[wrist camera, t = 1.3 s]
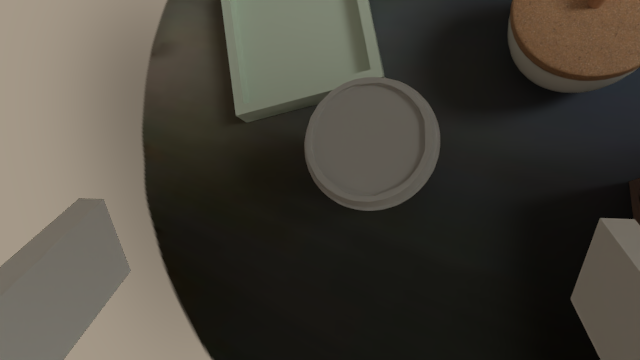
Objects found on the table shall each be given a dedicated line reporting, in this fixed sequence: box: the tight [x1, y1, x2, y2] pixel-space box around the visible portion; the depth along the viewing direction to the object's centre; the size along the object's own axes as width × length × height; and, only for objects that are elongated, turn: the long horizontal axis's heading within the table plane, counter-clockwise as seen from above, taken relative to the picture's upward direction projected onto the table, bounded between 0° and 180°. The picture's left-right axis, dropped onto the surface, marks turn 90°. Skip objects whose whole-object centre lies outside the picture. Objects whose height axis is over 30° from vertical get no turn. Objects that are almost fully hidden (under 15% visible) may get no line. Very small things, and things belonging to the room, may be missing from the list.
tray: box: [221, 0, 385, 123], centre depth 42 cm, size 15×15×2 cm
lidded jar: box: [507, 0, 640, 93], centre depth 32 cm, size 11×11×9 cm
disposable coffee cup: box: [304, 77, 440, 211], centre depth 33 cm, size 10×10×12 cm
